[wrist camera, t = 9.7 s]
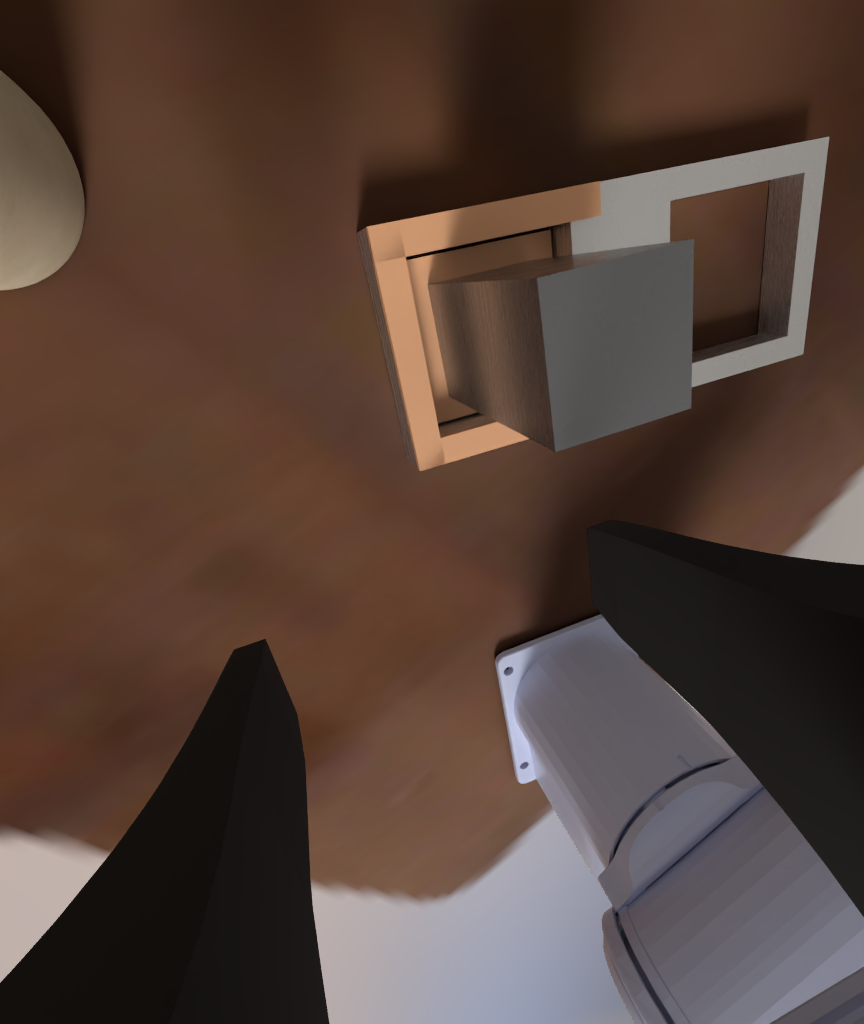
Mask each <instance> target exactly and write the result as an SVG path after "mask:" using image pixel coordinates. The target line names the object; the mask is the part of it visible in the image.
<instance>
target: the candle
mask: <svg viewBox="0 0 864 1024" xmlns="http://www.w3.org/2000/svg"><path fill="white" fill-rule="evenodd" d="M84 217H85V200H84V193H83V187H82V183H81V179H80V175H79V172H78V169H77V167H76V164H75V162H74V159H73V157H72V155H71V153H70V151H69V149H68V147H67V145H66V143H65V142H64V140H63V138H62V136H61V135H60V133H59V132H58V130H57V129H56V127H55V126H54V124H53V123H52V122H51V120H50V119H49V118H48V117H47V115H46V114H45V113H44V112H43V111H42V109H41V108H40V107H39V106H38V105H37V104H36V103H35V102H34V101H33V100H32V99H31V98H30V97H29V96H28V95H27V94H26V93H25V92H24V91H23V90H22V89H21V88H20V87H19V86H18V85H17V84H16V83H15V82H13V81H12V80H11V79H10V78H9V77H8V76H7V75H5V74H4V73H3V72H2V71H1V70H0V290H11V289H16V288H22V287H26V286H29V285H32V284H35V283H37V282H39V281H41V280H43V279H45V278H47V277H49V276H50V275H52V274H53V273H54V272H56V271H57V270H58V269H60V268H61V267H62V266H63V265H64V264H65V263H66V262H67V260H68V259H69V258H70V256H71V255H72V253H73V252H74V250H75V248H76V246H77V244H78V242H79V240H80V237H81V233H82V230H83V225H84Z"/></svg>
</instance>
